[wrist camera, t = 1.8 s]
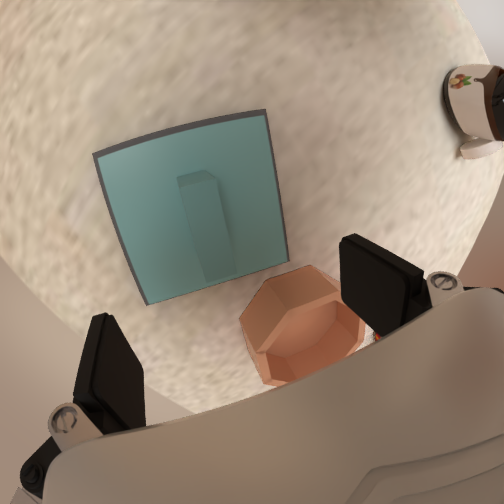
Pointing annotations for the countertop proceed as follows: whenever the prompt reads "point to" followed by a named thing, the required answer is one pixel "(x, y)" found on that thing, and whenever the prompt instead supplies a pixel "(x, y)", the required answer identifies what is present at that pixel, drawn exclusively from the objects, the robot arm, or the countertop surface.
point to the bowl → (299, 326)
